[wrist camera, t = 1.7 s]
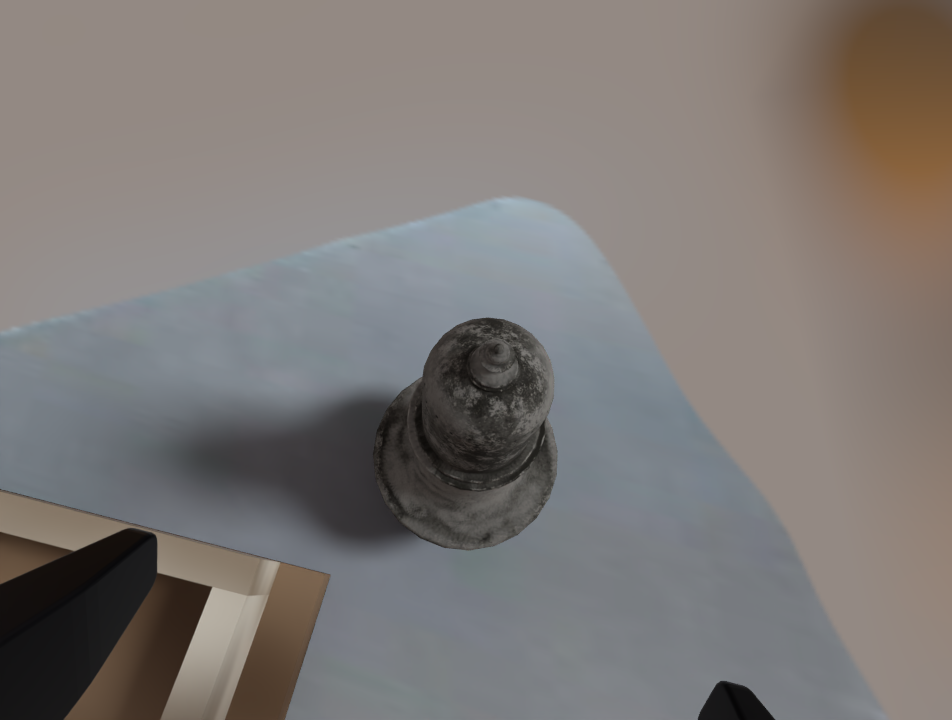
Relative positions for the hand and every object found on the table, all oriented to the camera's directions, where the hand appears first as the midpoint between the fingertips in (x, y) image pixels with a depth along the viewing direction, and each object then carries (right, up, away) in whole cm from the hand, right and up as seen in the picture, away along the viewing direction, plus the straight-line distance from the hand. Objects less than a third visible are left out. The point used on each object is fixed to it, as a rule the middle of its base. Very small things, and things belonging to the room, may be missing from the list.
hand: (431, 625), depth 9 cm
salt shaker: (0, 0, +13) cm, 13 cm away
